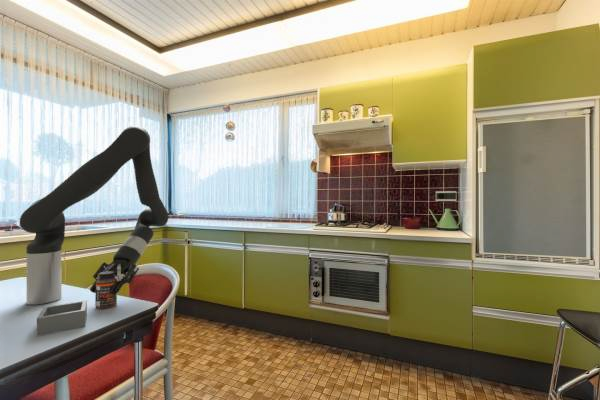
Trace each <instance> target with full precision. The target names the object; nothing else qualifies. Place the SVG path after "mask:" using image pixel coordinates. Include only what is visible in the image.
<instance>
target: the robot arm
mask: <svg viewBox="0 0 600 400" xmlns="http://www.w3.org/2000/svg"><path fill="white" fill-rule="evenodd" d="M150 143H151V136H150V134H149V132H148V131H147V130H146V129H145V128H144V127H142V126H139V125H131V126H128V127H127V128H125V129H123V130H122V132H121V133H120V134H119V135H118V137H116V139H115V140H114V141H113V142H111V144H110V145H109V146H108V147H107V148H106V149H104V150H103V151H102V152H100V153H99V154H97V155H96V156H94V157H92V158H91V159H89V160H88V161H87V162H85V163H83V164H82V165H80V166H79V168H77V169H76V170H75V171H74V172H73V173H72V174H71V175H70V176H68V178H66V179H65V180H64V181H62V182H61V183H60V184H59V185H57V187H56V188H54V189H53V190H52V191H51V192H49V193H48V194H47V195H45V196H44V197H43V198H41V199H39V200H38V201H37V202H35V203H34V204H32V205H31V206H29V207H28V208H27V209H25V210H24V211H23V212H22V214H21V215H20V217H19V225H20V228H21V229H22V230H23V231H24V232H27V233H28V234H29V233H32V234H35V235H34V236H35V237H34V239H33V240H32V241H31V242H30V243H27V245H26V250H25V251H26V254H25V255H26V257H25V258H26V262H25V263H26V294H25V296H26V304H27V305H32V306H33V305H43V304H48V303H53V302H56V301H58V300H60V299H62V248H63V247H62V246H63V244H64V242H65V234H66V233H65V232H66V218H65V217H66V216H65V213H64V211H66V210H67V209H68V208H70V207H72V206H74V205H75V204H77V203H80V202H82V201H84V200H85V199H87V198H89V197H92V195H94V194H96V193H97V192H98V191H100V189H102V188H103V187H104V186H106V184H108V182H109V181H110V180H111V179H112V178H113V177H114V176H115V175H116V174H117V172H119V170H120V169H121V168H122V167H123V166H124V165H126V164H127V163H128V162H129V161H131V160H132V163H133V169H134V175H135V183H136V185H135V186H136V189H137V194H138V197H139V202H140V203H141V204H142V206H146V207H148V208H145V209H144V210H142V211H141V212H140V213H139V214H138V218H137V221H136V224H135V227H134V229H133V230H132V231H131V233H130V235H129V236H128V237H127V238H126V239H125V240H124V241H123V243H122V244H121V245H120V247H119V248H118V249H117V251H116V253H115V254H114V255H113V257H112V258H113V260H112V261H111V262H110V263H106V262H103V263H102V264H101V265H100V266H99V267H98V269H97V270H96V272H95V273H94V274H93V275H92V278H94V280H95V281H94V282H93V283H92V285H91V287H90V289H89V291H90V292H92V293H94V294H96V281H97V280H98V279H99V278H100V277H99V274H100V273H101V272H106V271H113V272H114V277H115V278H117V282H116V283H115V285H114V286H113V287H112V289H111V290H110V292H111V293H112V294H113V295H116V294H117V295H118V293H119V292H120V290H121V288H123V286H124V285H126V284H131V283H132V282H133V279H134V278H135V276H136V275H137V273H138V272H139V270H140V268H139V267H138V265H136V264H137V263H138V261H139V260H140V258H141V257H142V255H143V253H144V251H145V250H146V248H147V246H148V245H149V243H150V242H151V240H152V239H153V236H154V230H153V229H152V228H151V227H161V228H162V227H164V226H166V225H167V223H168V222H169V213H168V211H167V209H166V207H165V205H164V203H163V201H162V200H161V197H160V193H159V189H158V184H157V180H156V177H155V173H154V169H153V165H152V164H153V163H152V158H151V146H150V145H151V144H150Z"/></svg>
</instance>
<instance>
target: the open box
mask: <svg viewBox="0 0 600 400" xmlns="http://www.w3.org/2000/svg"><path fill="white" fill-rule="evenodd" d="M87 317H88V300H87V299H84V300H80V301H74V302H68V303H60V304H56V305H49V306H43V307H42V309H41V310H40V312H39V314H38V316H37V318H36V337H40V336H44V335H49V334H54V333H59V332H65V331H69V330H74V329H80V328H84V327H86V322H87Z"/></svg>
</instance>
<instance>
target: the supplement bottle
mask: <svg viewBox="0 0 600 400" xmlns="http://www.w3.org/2000/svg"><path fill="white" fill-rule="evenodd" d="M98 276H99V277H100V278H99V279H98V280H97V281H96V280H95V281H96V293H95V301H94V302H95V304H94V306H95V308H96V309H98V310H107V309H112V308H114V307H116V305H118V293H117V294H116V295H113V294H112V293H111V292H110V290H111V289H112V287H113V286H114V285H115V283H116V282H117V281H118V278H117V277H114V272H113V271H106V272H101V273H99V275H98Z"/></svg>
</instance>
